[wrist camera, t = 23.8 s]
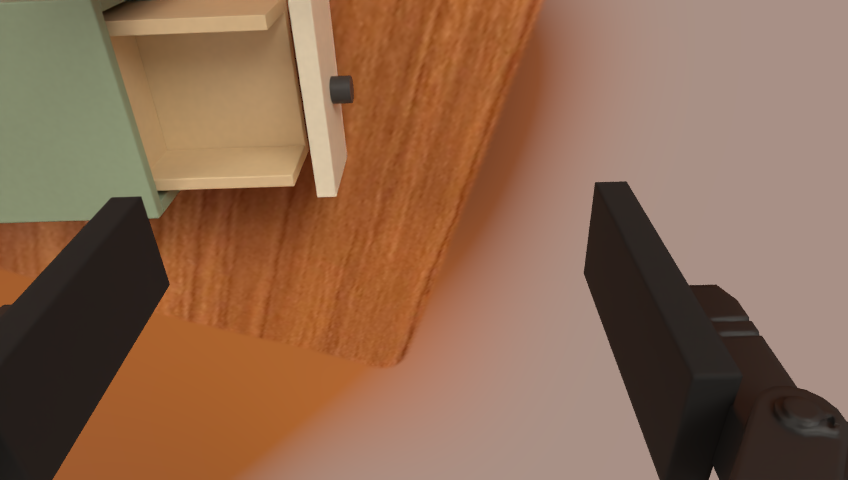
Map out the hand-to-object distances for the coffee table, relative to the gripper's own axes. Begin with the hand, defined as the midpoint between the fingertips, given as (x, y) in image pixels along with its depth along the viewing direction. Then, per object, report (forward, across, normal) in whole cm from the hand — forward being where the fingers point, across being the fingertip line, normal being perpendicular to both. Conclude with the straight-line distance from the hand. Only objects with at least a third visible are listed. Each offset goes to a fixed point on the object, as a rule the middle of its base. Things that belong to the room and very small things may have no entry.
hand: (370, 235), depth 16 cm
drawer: (+25, -10, -4) cm, 27 cm away
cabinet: (+26, -22, -4) cm, 34 cm away
